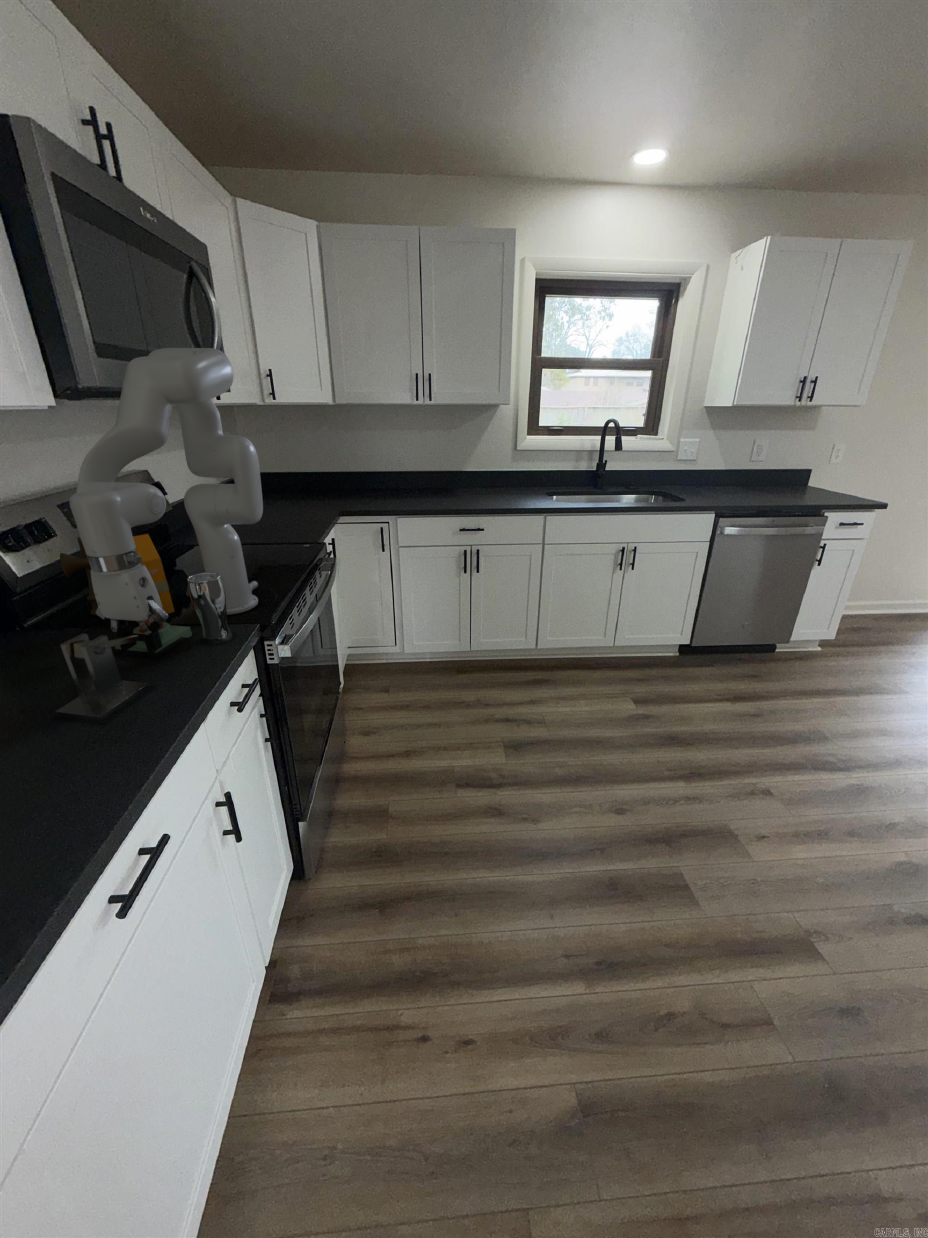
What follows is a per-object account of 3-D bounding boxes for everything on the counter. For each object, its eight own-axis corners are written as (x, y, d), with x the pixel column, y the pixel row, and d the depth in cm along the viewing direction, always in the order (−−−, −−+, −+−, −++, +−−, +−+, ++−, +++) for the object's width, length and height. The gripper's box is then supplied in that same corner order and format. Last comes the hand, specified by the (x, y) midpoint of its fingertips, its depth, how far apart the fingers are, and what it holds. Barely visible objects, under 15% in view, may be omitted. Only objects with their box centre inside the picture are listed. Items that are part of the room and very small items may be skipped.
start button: (150, 625, 112) (148, 618, 111) (166, 626, 111) (164, 619, 110) (136, 633, 108) (134, 625, 107) (153, 634, 107) (151, 627, 107)
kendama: (80, 613, 127) (53, 537, 118) (125, 605, 132) (102, 531, 123) (80, 621, 122) (52, 542, 114) (126, 612, 127) (102, 536, 119)
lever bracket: (109, 684, 96) (88, 624, 90) (150, 688, 94) (131, 628, 89) (57, 717, 86) (30, 652, 80) (102, 723, 84) (78, 657, 79)
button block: (154, 632, 117) (149, 616, 115) (192, 635, 115) (188, 619, 113) (116, 654, 107) (111, 637, 105) (157, 657, 105) (152, 641, 104)
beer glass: (221, 646, 110) (207, 583, 104) (194, 644, 111) (178, 581, 105) (240, 633, 116) (228, 572, 110) (214, 630, 117) (200, 570, 111)
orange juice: (175, 611, 127) (155, 535, 119) (137, 623, 121) (113, 543, 113) (162, 604, 132) (142, 530, 124) (125, 614, 126) (101, 537, 118)
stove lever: (130, 641, 97) (130, 629, 97) (153, 643, 97) (152, 631, 96) (67, 656, 85) (66, 642, 84) (92, 659, 84) (91, 645, 83)
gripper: (171, 556, 92) (194, 643, 99) (91, 552, 94) (119, 636, 102) (140, 570, 85) (167, 662, 93) (55, 564, 88) (88, 654, 95)
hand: (142, 648), depth 97 cm, fingers closed on stove lever, 5 cm apart
